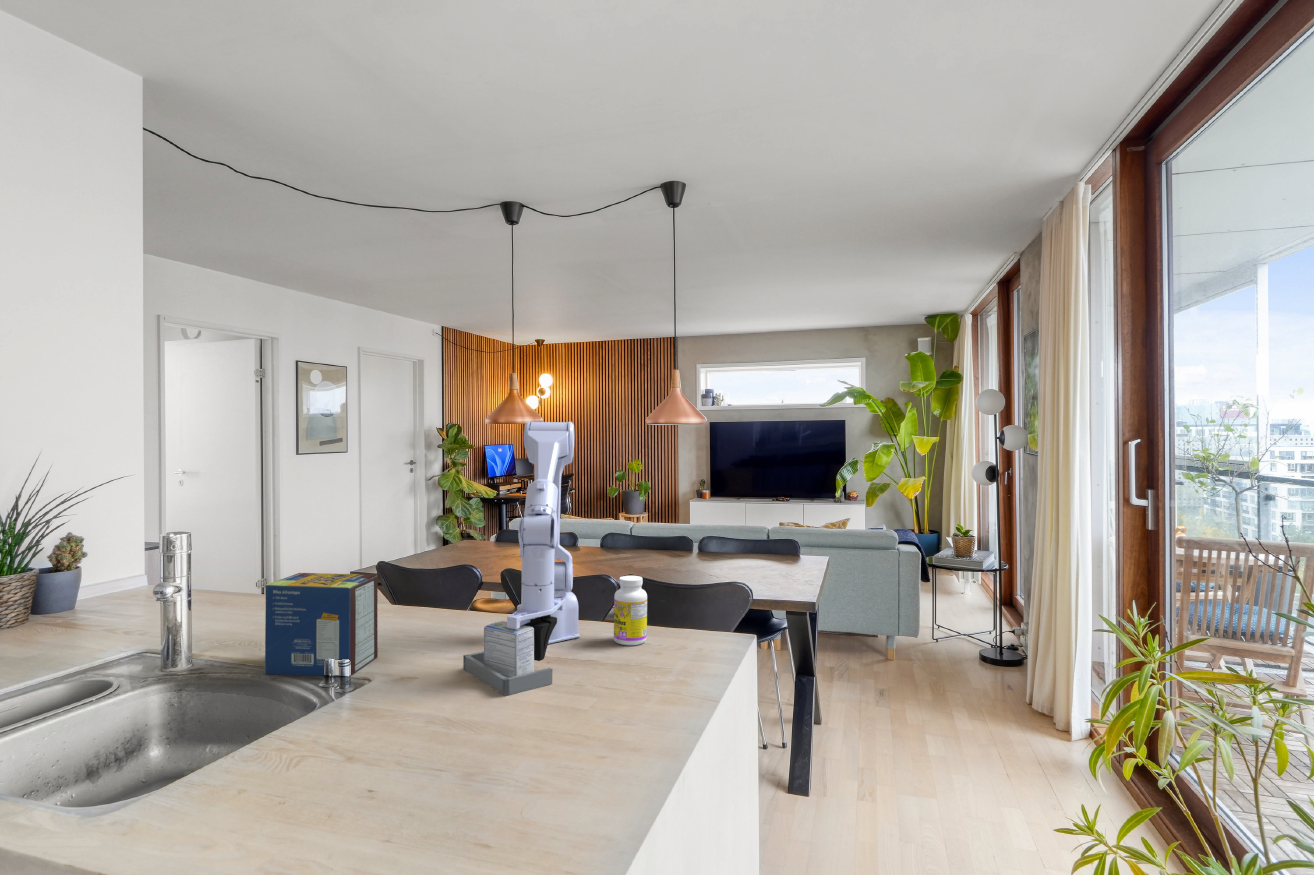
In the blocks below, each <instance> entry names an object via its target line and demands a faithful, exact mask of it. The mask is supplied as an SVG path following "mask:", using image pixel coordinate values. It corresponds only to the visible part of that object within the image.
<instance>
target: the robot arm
mask: <svg viewBox="0 0 1314 875" xmlns="http://www.w3.org/2000/svg"><path fill="white" fill-rule="evenodd" d="M523 428H524V432H523V446H524V449H525V453H526V458H528V462H529V463H531V464H533V465H534V481H532V482H531V483H529V485H528V486H527V488H526V495H525V496H526V497H525V501H524V502H525V503H524V504H525V505H524V511H523V517H520V519H519V522H518V532H517V533H518V535H517V536H518V543H519V555H520V556H519V558H521V591H520V592H521V601H520V602H521V604H518V605H517V606H516V611H514V612H513V613H512V614H510V615H508V616H506V618H507V619H506V622H507V628H512V629H518V628H520V626H521V625H525V626H529V627H533V628H534V661H537V662H540V661H543V660H545V658H546V652H547V649H548V645H549V644H554V643H558V642H563V641H567V640H572V639H577V638H580V637H581V634H580V633H579V602H578V599H577V596H576V595H575V593H574V592H572V589H573V584H574V583H573V581H574V566H573V565H574V564H573V556H572V554H571V553H570V551H568V550H567V549H566V548H564V547H563V546H562V545H561V544H560V542H561V541H560V535H561V533H560V532H561V496H562V495H561V494H562V493H561V492H562V487H561V486H562V474H563V472H564V469H565V468H564V467H565V466H567V465H569V464H572V463H573V458H574V456H575V455H574V454H575V453H574V452H575V451H574V450H575V449H574V448H575V425H574V423H573V421H567V422H565V421H560V422H559V421H557V422H556V421H553V422H552V421H531V420H527V422H526V423H525V425H524V427H523ZM555 560H562V561H555Z"/></svg>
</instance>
